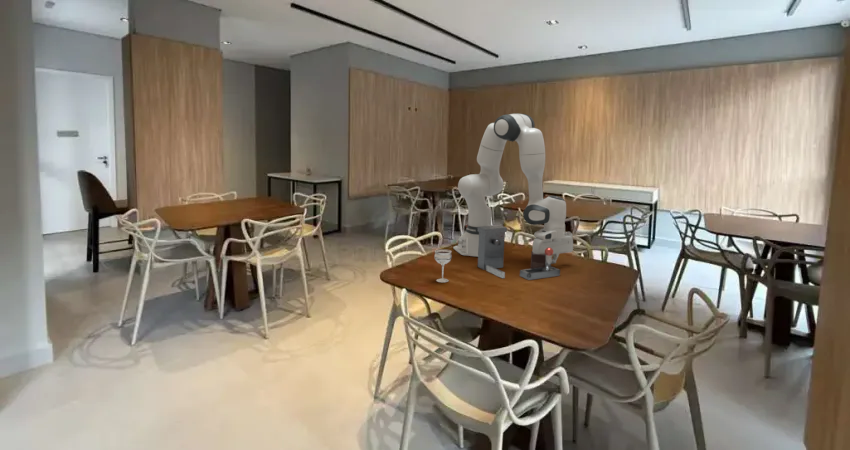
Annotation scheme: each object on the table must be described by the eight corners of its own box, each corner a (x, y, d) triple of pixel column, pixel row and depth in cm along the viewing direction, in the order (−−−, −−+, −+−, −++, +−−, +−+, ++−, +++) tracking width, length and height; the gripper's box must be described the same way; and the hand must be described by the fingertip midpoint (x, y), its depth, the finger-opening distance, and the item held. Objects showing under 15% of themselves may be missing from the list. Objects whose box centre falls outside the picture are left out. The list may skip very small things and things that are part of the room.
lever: (541, 271, 200) (542, 246, 198) (548, 270, 202) (550, 246, 200) (546, 273, 197) (548, 248, 195) (554, 272, 199) (555, 248, 197)
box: (544, 271, 205) (546, 254, 203) (530, 270, 206) (531, 254, 205) (544, 267, 211) (545, 251, 209) (530, 266, 212) (531, 250, 210)
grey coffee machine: (476, 266, 210) (477, 226, 207) (497, 264, 215) (498, 225, 211) (500, 278, 193) (502, 235, 190) (522, 275, 198) (525, 233, 194)
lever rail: (519, 276, 197) (520, 270, 197) (550, 271, 204) (550, 266, 203) (528, 280, 192) (529, 273, 191) (559, 275, 199) (560, 269, 198)
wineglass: (430, 280, 190) (431, 250, 188) (443, 277, 194) (443, 248, 192) (441, 284, 185) (442, 254, 183) (454, 281, 189) (455, 251, 187)
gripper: (567, 229, 216) (565, 259, 219) (531, 233, 207) (529, 263, 210) (577, 232, 210) (575, 262, 213) (540, 236, 202) (538, 267, 204)
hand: (552, 263), depth 211 cm, fingers closed
